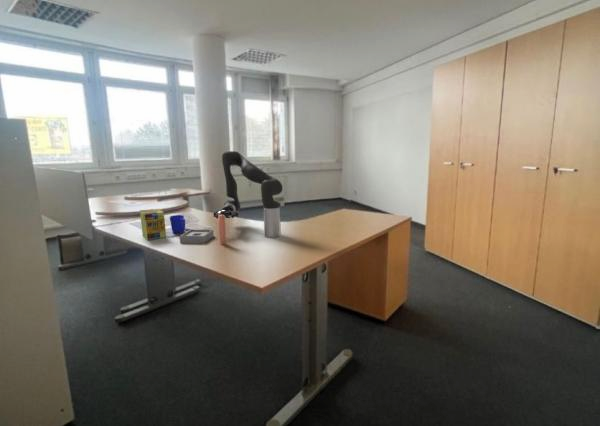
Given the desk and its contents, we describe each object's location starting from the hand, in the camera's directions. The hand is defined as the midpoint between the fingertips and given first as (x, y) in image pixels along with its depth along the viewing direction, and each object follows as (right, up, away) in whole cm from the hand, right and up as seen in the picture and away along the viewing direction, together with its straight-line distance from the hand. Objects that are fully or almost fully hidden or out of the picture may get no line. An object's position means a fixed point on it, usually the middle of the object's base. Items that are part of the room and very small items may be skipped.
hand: (224, 216), depth 178 cm
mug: (-32, -10, +17) cm, 38 cm away
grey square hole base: (-16, -13, +1) cm, 21 cm away
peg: (+1, -15, -8) cm, 17 cm away
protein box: (-44, -12, +9) cm, 47 cm away
